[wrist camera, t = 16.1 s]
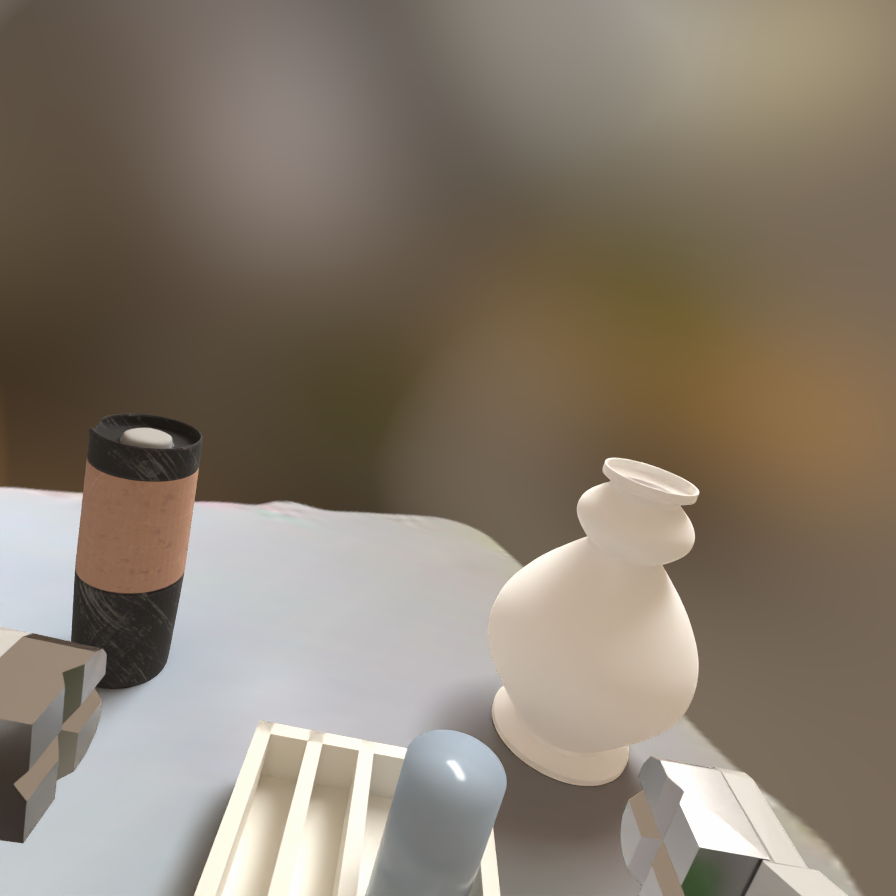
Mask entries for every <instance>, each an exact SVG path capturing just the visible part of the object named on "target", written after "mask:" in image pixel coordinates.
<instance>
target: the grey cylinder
mask: <svg viewBox="0 0 896 896" xmlns="http://www.w3.org/2000/svg"><path fill="white" fill-rule="evenodd" d="M506 785H507V780H506V774H505V770H504V768H503V766H502V764H501V762H500V760H499V759H498V757H497V756H496V755H495V754H494V752H493V751H492V750H491V749H490V748H489V747H487V746H486V745H485V744H484V743H482V742H481V741H479V740H478V739H476V738H474V737H472V736H470V735H467V734H465V733H462V732H458V731H454V730H444V729H441V730H432V731H428V732H425V733H423V734H421V735H419V736H418V737H416V738H415V739H414V740H413V741H412V742H411V743H410V745H409V747H408V748H407V751H406V754H405V758H404V761H403V765H402V768H401V772H400V775H399V779H398V782H397V786H396V789H395V793H394V796H393V800H392V803H391V807H390V810H389V814H388V817H387V821H386V824H385V828H384V831H383V835H382V838H381V842H380V845H379V849H378V852H377V856H376V859H375V863H374V866H373V869H372V873H371V876H370V880H369V883H368V887H367V890H366V894H365V896H469V894H470V891H471V889H472V886H473V883H474V880H475V877H476V874H477V871H478V868H479V866H480V863H481V860H482V857H483V854H484V851H485V848H486V846H487V843H488V840H489V837H490V834H491V831H492V828H493V826H494V823H495V820H496V817H497V814H498V811H499V808H500V805H501V803H502V800H503V797H504V794H505V791H506Z"/></svg>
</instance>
